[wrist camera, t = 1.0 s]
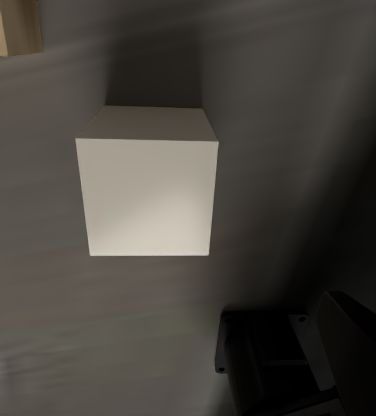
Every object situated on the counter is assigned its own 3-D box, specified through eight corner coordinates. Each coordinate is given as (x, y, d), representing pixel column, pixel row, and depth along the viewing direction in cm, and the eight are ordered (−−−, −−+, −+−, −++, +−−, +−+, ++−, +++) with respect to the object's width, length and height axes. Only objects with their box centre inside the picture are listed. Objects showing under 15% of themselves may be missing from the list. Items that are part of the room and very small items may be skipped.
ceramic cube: (196, 194, 19) (208, 255, 14) (111, 193, 19) (89, 255, 13) (202, 108, 17) (218, 141, 11) (104, 105, 16) (75, 138, 11)
